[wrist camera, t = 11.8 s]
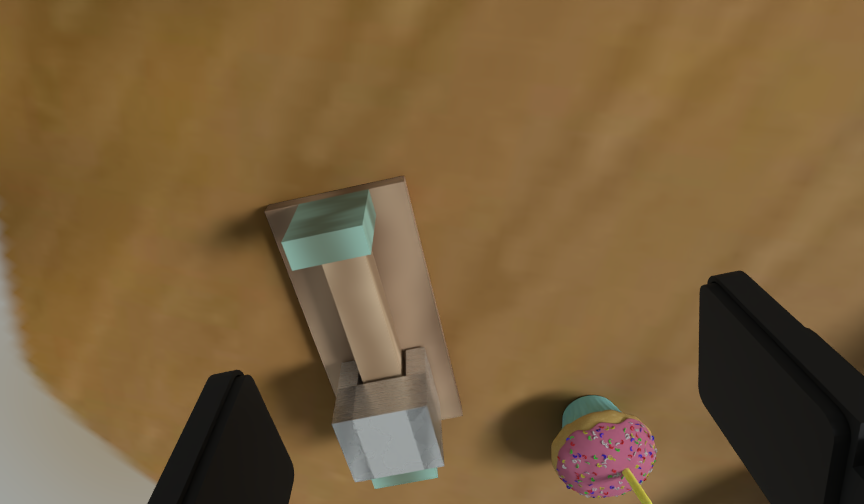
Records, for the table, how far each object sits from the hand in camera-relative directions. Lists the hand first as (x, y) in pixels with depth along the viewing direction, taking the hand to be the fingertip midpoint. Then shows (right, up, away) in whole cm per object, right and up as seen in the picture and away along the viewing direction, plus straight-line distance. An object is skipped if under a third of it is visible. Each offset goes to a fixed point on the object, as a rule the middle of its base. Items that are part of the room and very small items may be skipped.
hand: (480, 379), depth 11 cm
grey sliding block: (-4, -8, +34) cm, 35 cm away
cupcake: (+13, -12, +39) cm, 43 cm away
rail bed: (-6, -2, +33) cm, 33 cm away
